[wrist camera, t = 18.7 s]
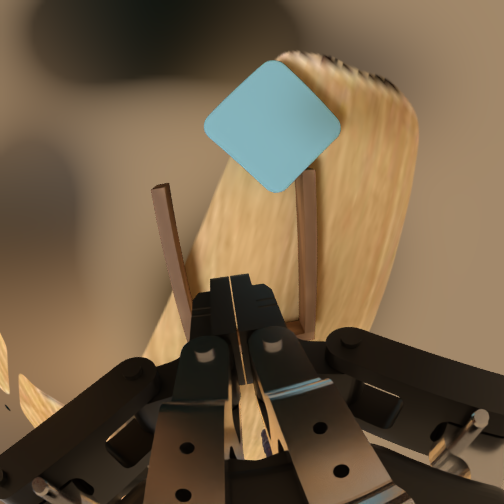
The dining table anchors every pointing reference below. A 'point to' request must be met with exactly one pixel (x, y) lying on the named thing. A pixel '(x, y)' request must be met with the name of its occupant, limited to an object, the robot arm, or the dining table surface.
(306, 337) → the walnut frame
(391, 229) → the dining table surface
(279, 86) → the data package
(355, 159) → the dining table surface
